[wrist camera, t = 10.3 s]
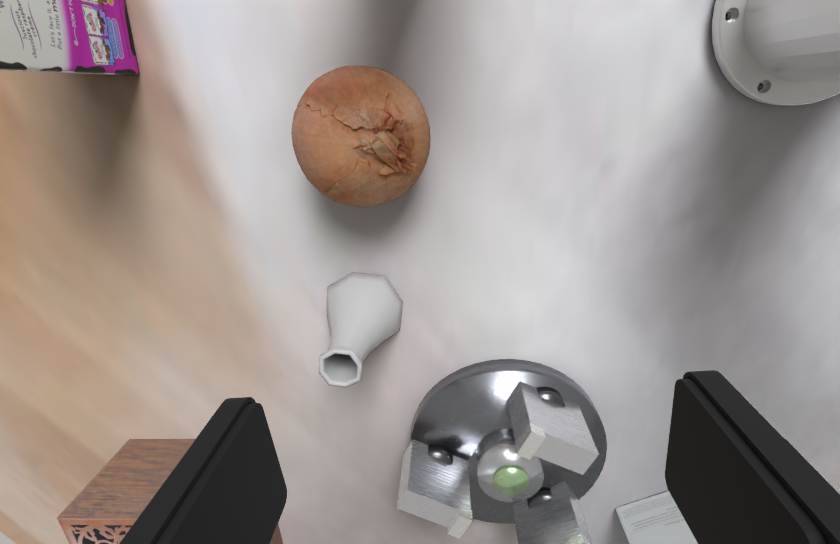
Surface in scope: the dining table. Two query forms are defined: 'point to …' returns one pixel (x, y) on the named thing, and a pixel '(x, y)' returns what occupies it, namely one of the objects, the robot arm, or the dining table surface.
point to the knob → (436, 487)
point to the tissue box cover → (124, 491)
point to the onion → (361, 135)
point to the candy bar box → (66, 37)
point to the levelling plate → (490, 412)
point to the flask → (357, 324)
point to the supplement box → (654, 521)
